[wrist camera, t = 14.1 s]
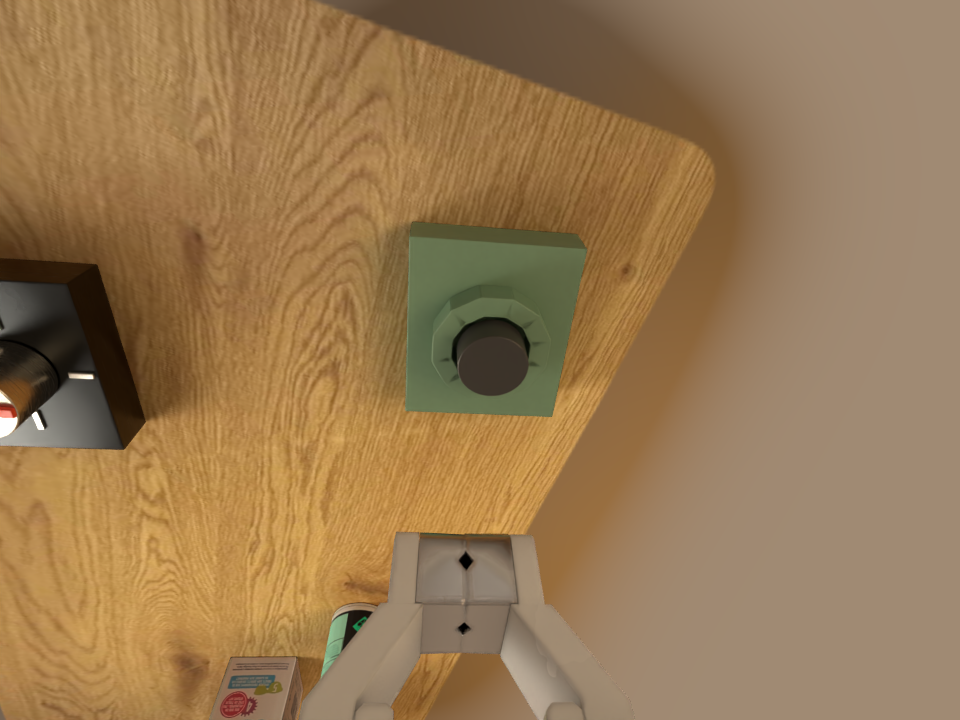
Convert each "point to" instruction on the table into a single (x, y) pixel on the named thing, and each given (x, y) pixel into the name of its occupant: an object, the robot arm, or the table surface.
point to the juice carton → (259, 689)
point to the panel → (70, 355)
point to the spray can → (345, 629)
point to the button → (491, 358)
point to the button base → (488, 311)
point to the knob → (22, 384)
